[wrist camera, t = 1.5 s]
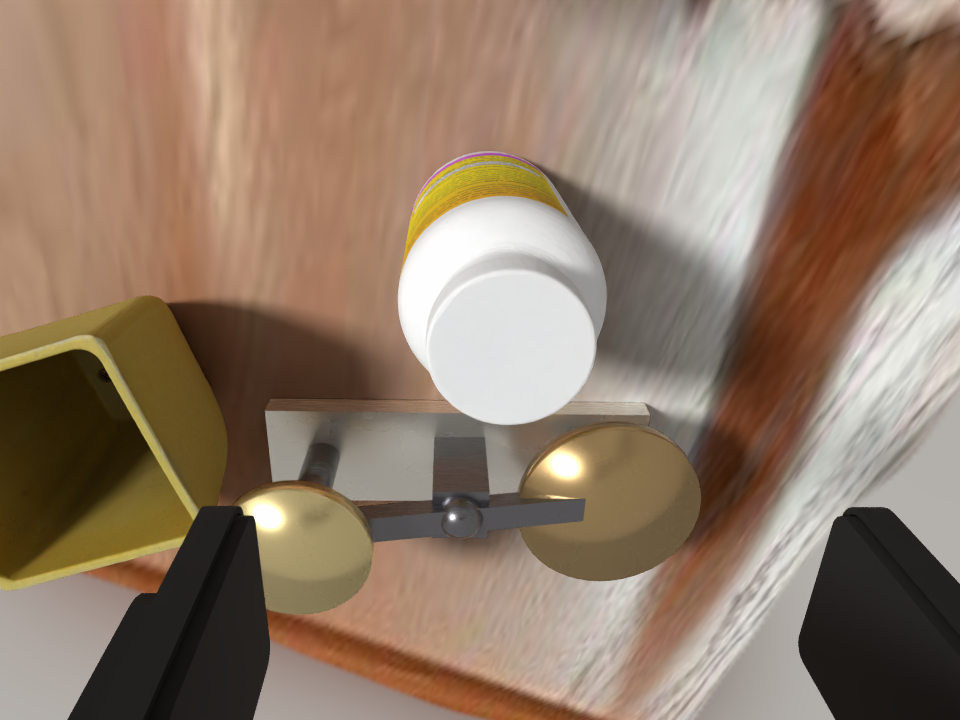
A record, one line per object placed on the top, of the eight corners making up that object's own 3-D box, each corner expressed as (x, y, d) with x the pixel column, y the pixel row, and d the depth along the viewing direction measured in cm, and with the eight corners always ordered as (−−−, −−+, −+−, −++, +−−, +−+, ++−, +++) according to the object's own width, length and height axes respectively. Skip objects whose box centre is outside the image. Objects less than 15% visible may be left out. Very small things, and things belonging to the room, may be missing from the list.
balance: (679, 376, 34) (742, 473, 27) (655, 511, 38) (706, 630, 30) (257, 370, 33) (202, 469, 26) (272, 509, 37) (227, 633, 29)
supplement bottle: (379, 204, 30) (336, 316, 19) (513, 115, 29) (556, 177, 17) (464, 326, 33) (473, 492, 21) (591, 250, 31) (674, 382, 20)
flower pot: (269, 419, 34) (213, 542, 26) (103, 465, 35) (-1, 597, 27) (188, 250, 31) (94, 331, 23) (5, 304, 31) (-150, 402, 23)
